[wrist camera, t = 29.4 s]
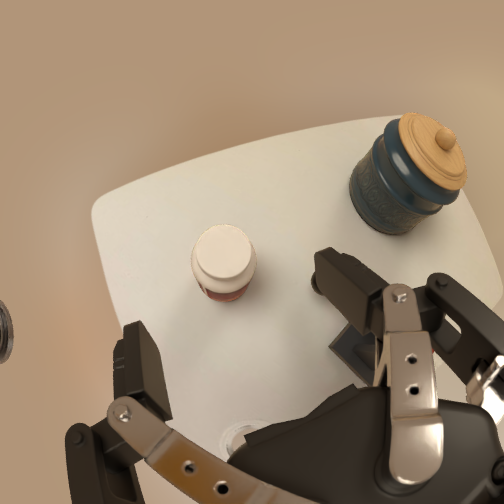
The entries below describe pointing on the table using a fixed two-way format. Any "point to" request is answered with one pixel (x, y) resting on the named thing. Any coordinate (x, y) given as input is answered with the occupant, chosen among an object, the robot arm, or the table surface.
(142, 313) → the table surface
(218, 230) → the pill bottle
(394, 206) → the canister
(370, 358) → the bracket
